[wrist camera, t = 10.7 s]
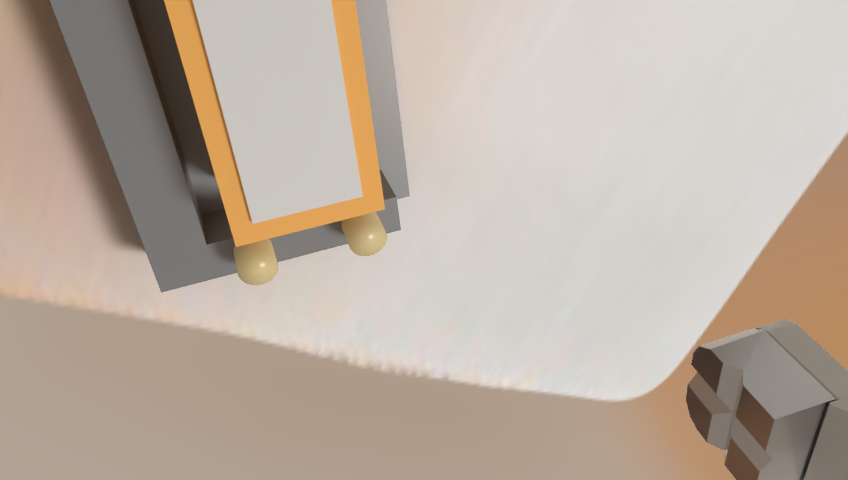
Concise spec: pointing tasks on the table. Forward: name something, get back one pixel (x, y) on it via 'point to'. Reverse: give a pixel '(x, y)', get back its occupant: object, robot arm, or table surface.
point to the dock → (186, 149)
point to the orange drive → (281, 110)
